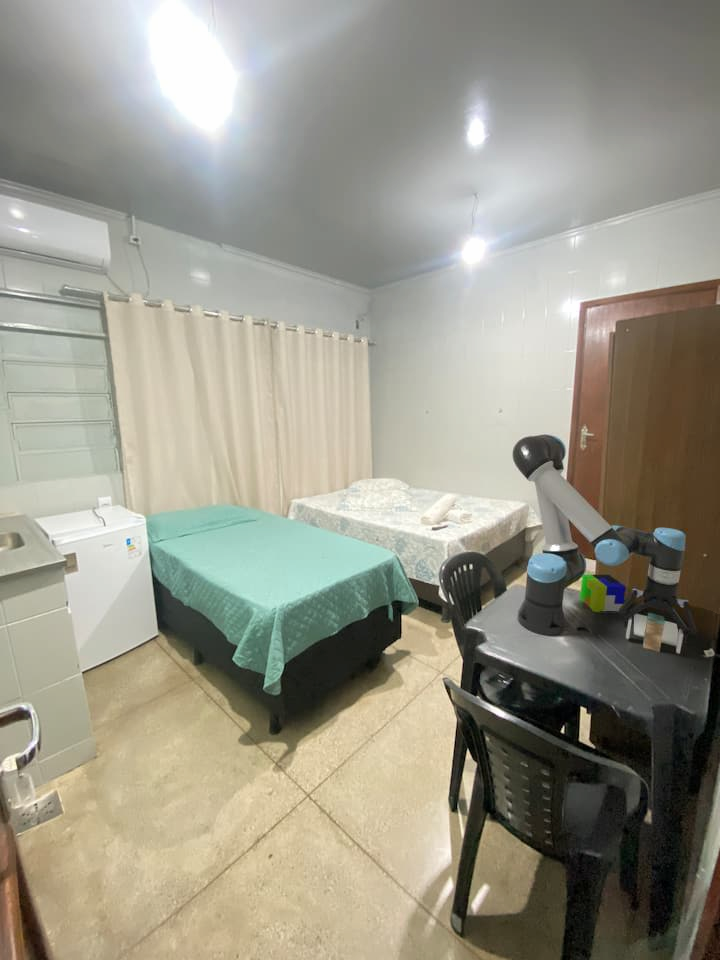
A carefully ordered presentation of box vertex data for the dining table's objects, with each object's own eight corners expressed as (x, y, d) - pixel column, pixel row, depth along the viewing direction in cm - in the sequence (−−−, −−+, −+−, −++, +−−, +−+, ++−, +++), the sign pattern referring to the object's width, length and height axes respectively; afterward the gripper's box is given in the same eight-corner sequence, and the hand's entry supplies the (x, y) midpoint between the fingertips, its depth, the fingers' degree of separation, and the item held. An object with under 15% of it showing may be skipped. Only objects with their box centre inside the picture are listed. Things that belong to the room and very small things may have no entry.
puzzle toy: (622, 612, 143) (625, 586, 141) (594, 612, 143) (597, 586, 141) (605, 598, 153) (608, 574, 151) (579, 598, 153) (582, 574, 151)
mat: (633, 634, 129) (634, 633, 129) (633, 614, 141) (634, 613, 141) (680, 647, 122) (680, 645, 122) (676, 625, 135) (676, 623, 134)
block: (643, 647, 122) (648, 618, 120) (643, 641, 126) (647, 612, 124) (659, 652, 120) (664, 622, 118) (658, 645, 124) (664, 616, 122)
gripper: (614, 573, 122) (605, 636, 126) (718, 595, 109) (704, 664, 113) (615, 565, 128) (607, 625, 133) (713, 585, 115) (700, 651, 119)
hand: (651, 643), depth 123 cm, fingers open, 12 cm apart
